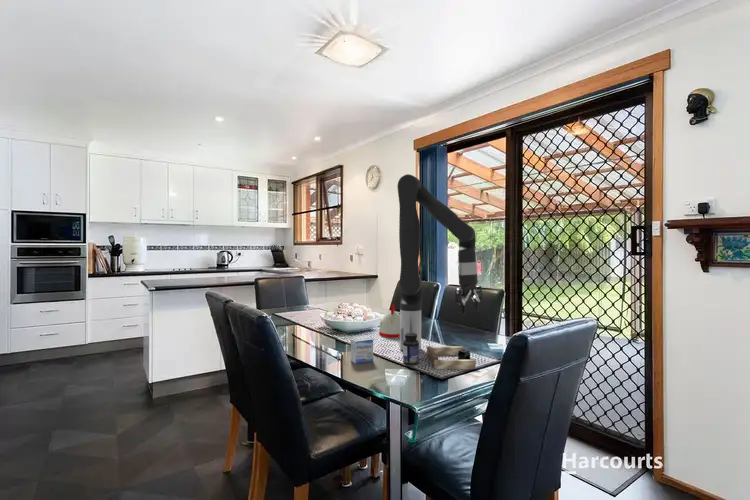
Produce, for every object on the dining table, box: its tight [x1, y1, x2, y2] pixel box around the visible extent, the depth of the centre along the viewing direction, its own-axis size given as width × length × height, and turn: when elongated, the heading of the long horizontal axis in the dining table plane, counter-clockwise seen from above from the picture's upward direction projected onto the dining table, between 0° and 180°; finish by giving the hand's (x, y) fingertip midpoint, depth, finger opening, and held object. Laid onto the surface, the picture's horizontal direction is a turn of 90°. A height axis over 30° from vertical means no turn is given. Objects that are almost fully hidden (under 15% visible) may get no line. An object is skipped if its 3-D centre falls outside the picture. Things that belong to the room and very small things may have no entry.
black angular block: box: [457, 348, 477, 361], centre depth 149 cm, size 12×7×5 cm, turn 135°
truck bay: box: [426, 345, 477, 370], centre depth 149 cm, size 15×19×4 cm
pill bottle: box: [402, 333, 420, 366], centre depth 146 cm, size 6×6×11 cm
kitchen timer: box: [378, 304, 400, 339], centre depth 191 cm, size 14×14×15 cm
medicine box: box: [350, 337, 374, 365], centre depth 148 cm, size 8×4×9 cm, turn 117°
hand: (469, 312), depth 156 cm, fingers open, 8 cm apart
